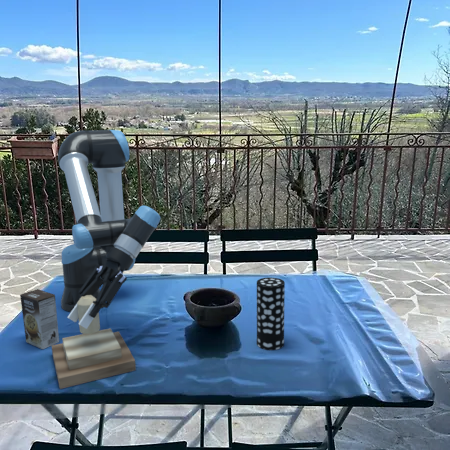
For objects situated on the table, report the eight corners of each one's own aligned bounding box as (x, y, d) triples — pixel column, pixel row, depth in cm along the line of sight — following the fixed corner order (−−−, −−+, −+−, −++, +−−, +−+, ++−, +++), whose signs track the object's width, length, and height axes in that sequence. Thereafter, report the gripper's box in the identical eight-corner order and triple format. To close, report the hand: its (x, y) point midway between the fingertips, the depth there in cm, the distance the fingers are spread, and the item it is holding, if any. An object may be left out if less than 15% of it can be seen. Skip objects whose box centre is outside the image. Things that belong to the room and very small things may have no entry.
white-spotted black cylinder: (266, 352, 133) (266, 288, 129) (251, 341, 140) (251, 280, 136) (289, 346, 137) (290, 283, 133) (274, 335, 144) (274, 275, 140)
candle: (94, 335, 124) (91, 300, 122) (76, 333, 125) (72, 299, 123) (103, 326, 129) (100, 293, 127) (85, 325, 130) (82, 292, 128)
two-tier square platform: (52, 354, 134) (50, 336, 133) (119, 340, 143) (118, 322, 141) (59, 389, 117) (57, 368, 115) (135, 370, 125) (134, 350, 124)
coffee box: (25, 342, 142) (18, 294, 139) (43, 334, 147) (37, 288, 144) (42, 350, 137) (36, 300, 134) (60, 341, 142) (55, 293, 139)
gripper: (150, 265, 128) (104, 339, 120) (114, 254, 141) (70, 319, 133) (133, 251, 123) (83, 327, 115) (98, 241, 136) (51, 308, 128)
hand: (76, 323), depth 124 cm, fingers closed on candle, 5 cm apart
